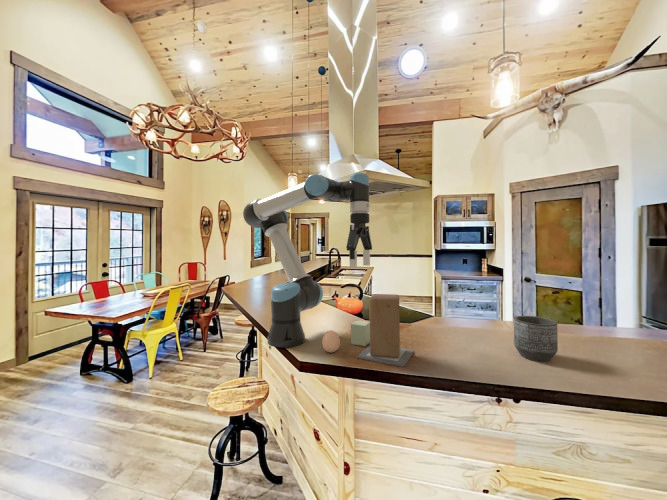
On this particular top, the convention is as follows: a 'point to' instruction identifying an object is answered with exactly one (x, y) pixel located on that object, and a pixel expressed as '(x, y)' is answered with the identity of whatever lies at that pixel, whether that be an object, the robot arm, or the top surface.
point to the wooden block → (384, 325)
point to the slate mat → (398, 361)
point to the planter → (535, 337)
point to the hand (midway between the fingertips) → (360, 266)
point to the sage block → (360, 333)
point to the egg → (331, 341)
